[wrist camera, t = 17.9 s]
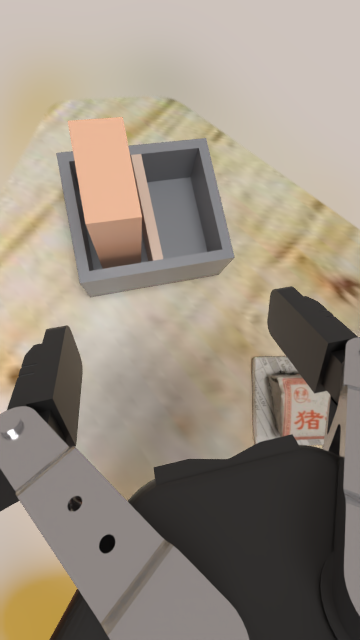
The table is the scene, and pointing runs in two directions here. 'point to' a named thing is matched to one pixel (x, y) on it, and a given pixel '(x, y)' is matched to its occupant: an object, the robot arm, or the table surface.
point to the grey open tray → (158, 219)
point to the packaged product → (286, 403)
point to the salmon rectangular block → (108, 189)
